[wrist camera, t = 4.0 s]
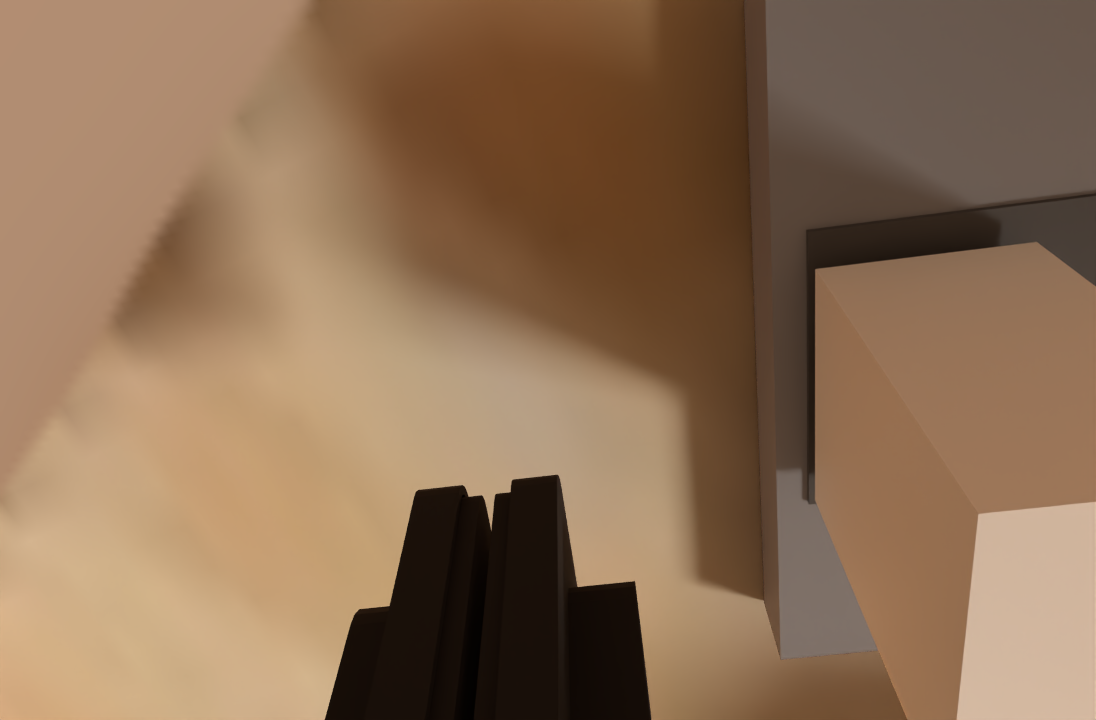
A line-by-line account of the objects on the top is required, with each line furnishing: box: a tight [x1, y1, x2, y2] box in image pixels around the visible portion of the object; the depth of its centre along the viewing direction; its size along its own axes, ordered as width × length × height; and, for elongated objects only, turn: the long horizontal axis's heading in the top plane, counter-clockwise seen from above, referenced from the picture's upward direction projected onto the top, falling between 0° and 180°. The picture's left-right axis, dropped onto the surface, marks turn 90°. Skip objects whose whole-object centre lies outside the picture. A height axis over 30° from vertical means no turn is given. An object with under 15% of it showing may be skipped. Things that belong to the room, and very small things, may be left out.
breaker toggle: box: [815, 242, 1096, 720], centre depth 11 cm, size 3×4×6 cm
